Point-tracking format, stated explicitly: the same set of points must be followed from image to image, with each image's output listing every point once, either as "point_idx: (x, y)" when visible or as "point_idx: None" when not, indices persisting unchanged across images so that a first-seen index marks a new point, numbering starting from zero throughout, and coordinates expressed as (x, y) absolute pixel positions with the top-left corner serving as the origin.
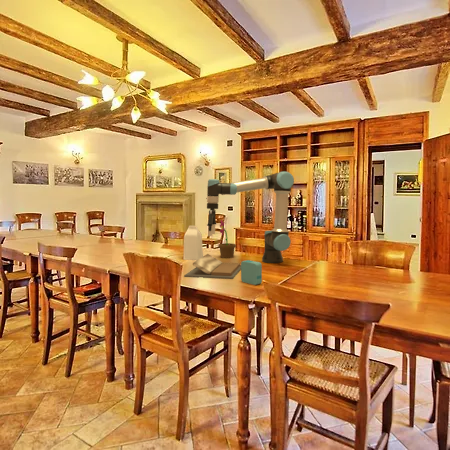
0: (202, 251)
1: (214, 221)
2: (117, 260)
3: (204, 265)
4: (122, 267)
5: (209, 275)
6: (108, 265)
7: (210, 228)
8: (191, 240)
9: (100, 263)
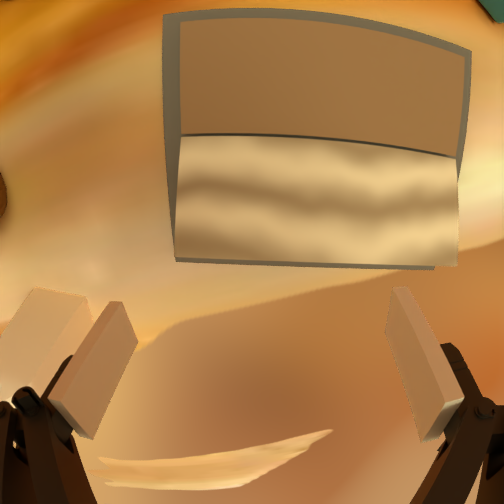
0: (24, 305)
1: (59, 458)
2: (194, 460)
3: (426, 207)
4: (277, 442)
5: None
6: (257, 460)
7: (466, 375)
8: None
9: (238, 470)
